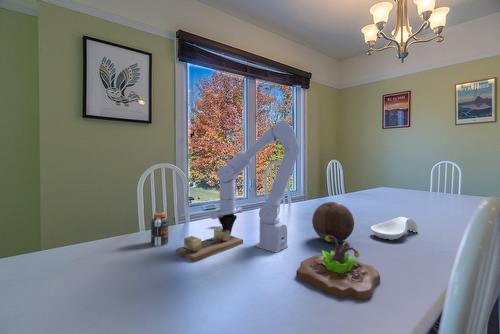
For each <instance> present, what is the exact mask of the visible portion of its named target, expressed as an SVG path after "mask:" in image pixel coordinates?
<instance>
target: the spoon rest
mask: <svg viewBox="0 0 500 334" xmlns="http://www.w3.org/2000/svg"><path fill="white" fill-rule="evenodd" d="M370 230H371V232H372V233H373V235H375V236H376V237H377V238H379V239H382V238H383V239H382V240H385V239H389V240H388V241H395V240H394V239H396V240H397V239H400V238H401V237H402V236H403V235H404V233H405V231H407V230H411V231H415V232H418V233H419V229H418V225H417V223H416V222H415V220H414V219H412V218H407V217H405V216H398V217H395V218H393V219H390V220H387V221H385V222H381V223H377V224H374V225H373V224H372V226H370Z"/></svg>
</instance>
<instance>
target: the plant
mask: <svg viewBox="0 0 500 334" xmlns="http://www.w3.org/2000/svg"><path fill="white" fill-rule="evenodd" d="M325 239H326V242H328V243H330V242H329V241H331V239H334V241H335V245H334V246H335V248H334V249H335V250H333V249H332V250H331V251H330V253H329V252H328V251H325V250H321V254H317V255H314V256H311V257H307V258H306V259H304V260H303V261H301V262H300V265H299V267H298V268H297V269H296V272H295V275H296V276H295V278H297V279H298V280H299V281H302V282H304V283H306V284H308V285H309V286H311V287H313V288H317V289H318V290H322V291H323V292H324V293H326V294H327V295H331V296H336V297H337V298H340V299H348V298H353V299H355V300H357V301H366V300H369V299H371V298H372V296H373V295H374V289H375V288H376V287H377V285H379V284H380V283H381V275H380V273H379V271H378V269H376V268H375V267H374V266H373V265H371V264H369V265H368V264H367V263H366V264H365V263H362V262H360V261H359V260H360V259H359V258H360V252H359V251H358V250H357V249H356V248H354V247H351V245H350V243H349V242H348V241H343V243H342V245H341V247H340V245H339V243H340V242H337V240H336V238H335V237H333V236H331V235H330V236H329V235H328V236H326V238H325ZM350 250H351V251H353V256H354V257H355V258H353V259H352V258H351V259H350V256H351V254H350V253H347V252H348V251H350ZM378 283H379V284H378Z"/></svg>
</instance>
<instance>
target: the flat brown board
mask: <svg viewBox="0 0 500 334" xmlns="http://www.w3.org/2000/svg"><path fill="white" fill-rule="evenodd" d="M243 244H244V239H243V238H239V237H236V236H233V235H231V234H230V239H227V240H224V241H223V240H220V239H217V238H214V236H213V237H211V238H206V239H204V240H202V238H199V237H196V236H193V235H190V236H187V237H184V238H183V246H182V247H178V248H176V249H175V255H177V256H180V257H181V258H184V259H186V260H188V261H192V262H194V263H197V262H199V261H202V260H205V259H207V258H210V257H212V256H214V255H215V256H216V255H218V254H219V253H222V252H225V251H227V250H230V249H233V248H235V247H238V246H240V245H243Z"/></svg>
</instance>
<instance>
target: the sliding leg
mask: <svg viewBox="0 0 500 334" xmlns="http://www.w3.org/2000/svg"><path fill="white" fill-rule="evenodd" d="M230 235H231V234H230V230H227V229H223V227H218V228H214V229H213V237H214V238H217V239H220V240H223V241H224V240H227V239H230Z"/></svg>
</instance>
